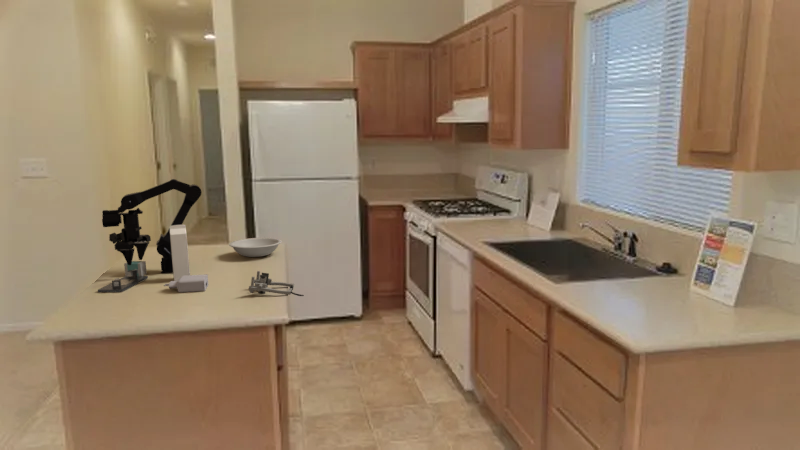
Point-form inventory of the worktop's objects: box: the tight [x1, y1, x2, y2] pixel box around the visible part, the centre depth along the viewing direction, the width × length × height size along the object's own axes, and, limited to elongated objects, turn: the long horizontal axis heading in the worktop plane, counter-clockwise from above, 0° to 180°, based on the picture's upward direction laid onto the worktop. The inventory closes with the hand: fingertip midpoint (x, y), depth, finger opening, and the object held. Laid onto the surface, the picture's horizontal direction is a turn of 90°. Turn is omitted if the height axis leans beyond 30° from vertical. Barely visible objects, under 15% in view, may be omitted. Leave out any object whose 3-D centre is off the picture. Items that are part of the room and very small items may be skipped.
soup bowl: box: [228, 237, 283, 258], centre depth 270 cm, size 24×24×7 cm
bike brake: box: [248, 270, 304, 297], centre depth 209 cm, size 14×7×20 cm
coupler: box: [123, 260, 148, 277], centre depth 238 cm, size 7×4×5 cm, turn 88°
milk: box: [168, 224, 191, 281], centre depth 228 cm, size 6×6×22 cm
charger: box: [163, 274, 209, 294], centre depth 215 cm, size 5×9×15 cm
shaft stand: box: [97, 269, 149, 293], centre depth 223 cm, size 9×20×4 cm, turn 178°
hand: (135, 262), depth 237 cm, fingers open, 9 cm apart
